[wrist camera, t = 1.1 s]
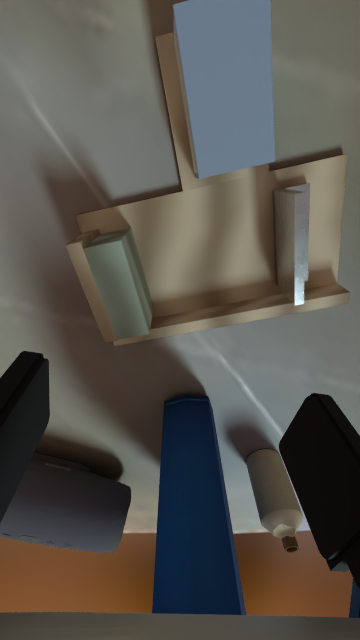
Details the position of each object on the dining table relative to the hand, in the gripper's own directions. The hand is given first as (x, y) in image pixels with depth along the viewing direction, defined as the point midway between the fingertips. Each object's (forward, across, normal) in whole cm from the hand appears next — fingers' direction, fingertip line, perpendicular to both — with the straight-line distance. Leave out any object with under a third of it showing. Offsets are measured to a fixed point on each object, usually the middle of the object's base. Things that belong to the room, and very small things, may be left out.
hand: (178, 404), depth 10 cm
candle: (+19, -21, +29) cm, 41 cm away
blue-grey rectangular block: (+19, -1, -12) cm, 23 cm away
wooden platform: (+20, -4, -1) cm, 20 cm away
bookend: (+19, -9, -4) cm, 21 cm away
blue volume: (+20, -9, +27) cm, 34 cm away
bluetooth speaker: (+20, +11, +37) cm, 43 cm away
